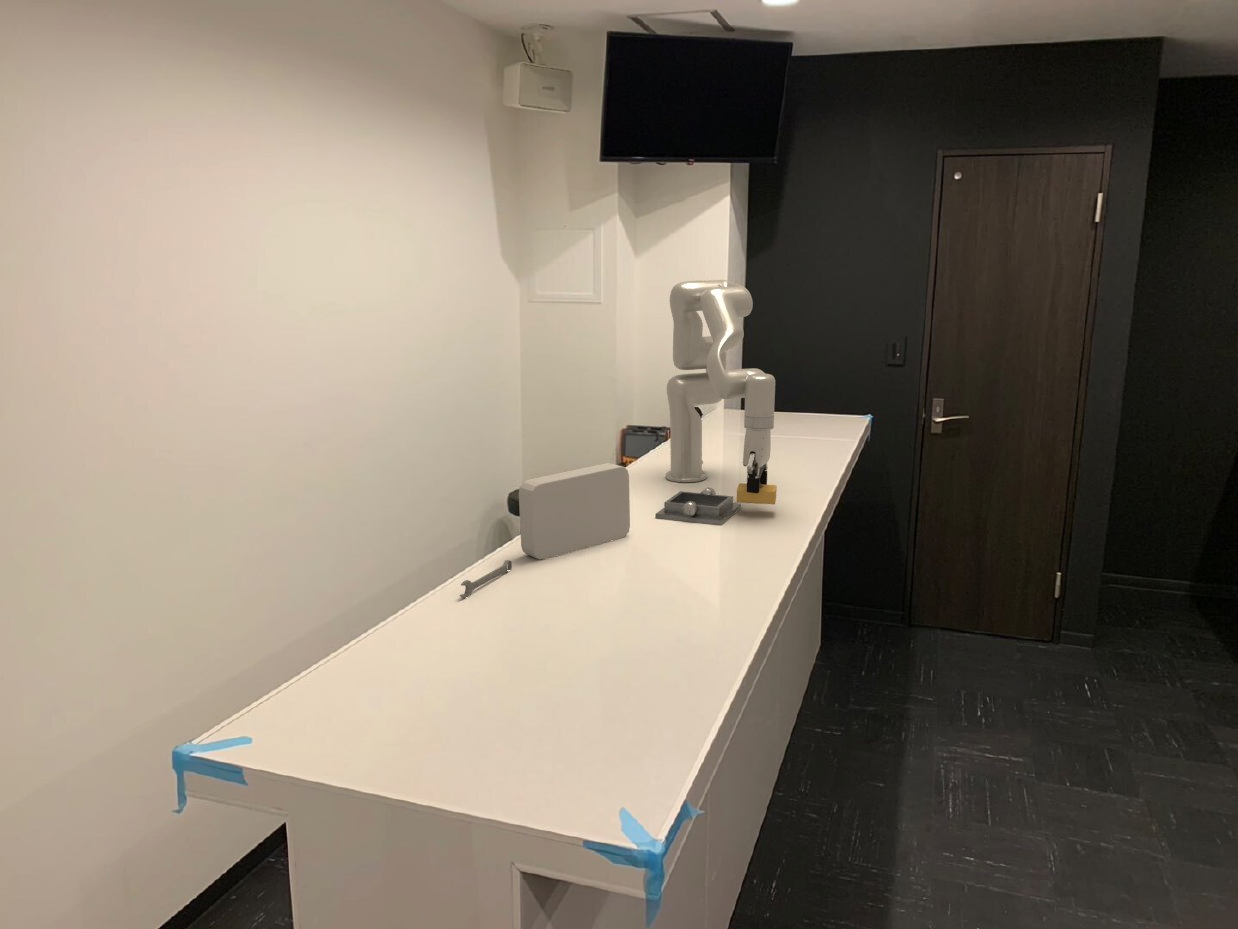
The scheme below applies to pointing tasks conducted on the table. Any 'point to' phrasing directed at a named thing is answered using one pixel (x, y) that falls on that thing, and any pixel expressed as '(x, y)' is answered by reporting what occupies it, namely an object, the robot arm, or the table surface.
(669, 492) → the table surface
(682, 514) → the grey metal square tray
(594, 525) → the grey control panel
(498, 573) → the combination wrench
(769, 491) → the rubber stamp
